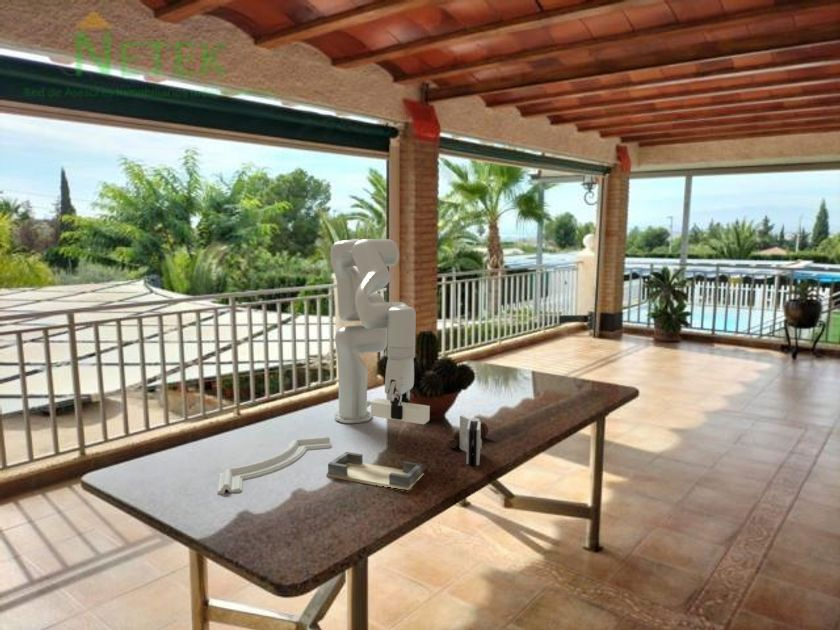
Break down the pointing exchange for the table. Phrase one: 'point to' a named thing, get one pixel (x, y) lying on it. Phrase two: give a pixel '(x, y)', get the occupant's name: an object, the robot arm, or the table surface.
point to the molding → (269, 463)
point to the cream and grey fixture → (374, 472)
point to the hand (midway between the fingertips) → (400, 415)
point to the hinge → (470, 438)
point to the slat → (409, 411)
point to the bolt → (455, 439)
